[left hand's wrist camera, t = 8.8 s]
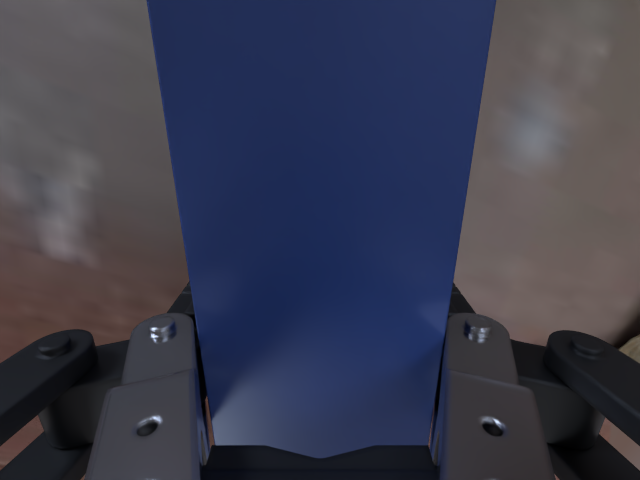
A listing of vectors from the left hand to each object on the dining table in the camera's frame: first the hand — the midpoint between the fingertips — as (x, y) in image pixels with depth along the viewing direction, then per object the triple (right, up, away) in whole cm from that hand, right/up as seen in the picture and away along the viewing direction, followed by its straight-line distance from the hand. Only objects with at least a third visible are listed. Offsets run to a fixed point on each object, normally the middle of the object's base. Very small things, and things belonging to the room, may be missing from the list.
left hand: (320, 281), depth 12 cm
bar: (0, +10, +1) cm, 10 cm away
